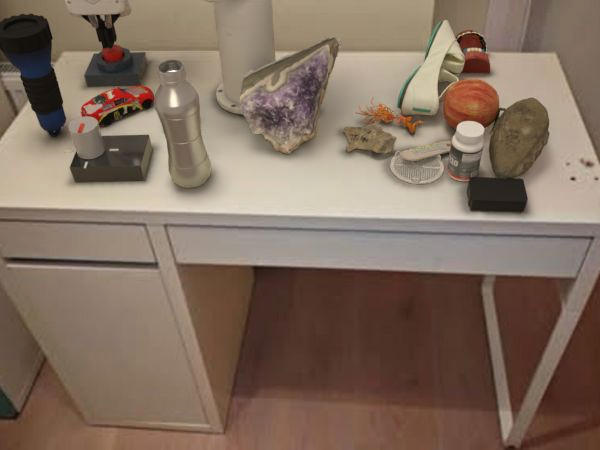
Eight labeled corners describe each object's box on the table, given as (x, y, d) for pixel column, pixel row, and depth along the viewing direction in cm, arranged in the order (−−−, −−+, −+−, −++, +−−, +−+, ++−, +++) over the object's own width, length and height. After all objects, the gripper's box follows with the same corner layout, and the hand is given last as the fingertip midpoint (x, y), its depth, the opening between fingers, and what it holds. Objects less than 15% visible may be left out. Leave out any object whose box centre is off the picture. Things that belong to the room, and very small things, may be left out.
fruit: (452, 98, 100) (517, 105, 100) (448, 62, 106) (509, 70, 107) (439, 141, 106) (500, 148, 106) (436, 105, 113) (493, 112, 113)
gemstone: (235, 127, 113) (249, 169, 102) (227, 38, 104) (242, 74, 93) (335, 114, 116) (359, 153, 106) (336, 27, 107) (363, 59, 96)
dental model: (457, 51, 117) (452, 24, 124) (452, 77, 120) (447, 49, 128) (497, 53, 116) (489, 26, 124) (490, 79, 120) (484, 51, 127)
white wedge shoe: (434, 47, 126) (473, 58, 125) (391, 125, 112) (436, 139, 110) (442, 9, 120) (484, 20, 118) (398, 86, 106) (445, 100, 104)
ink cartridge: (520, 189, 98) (466, 187, 98) (523, 178, 96) (468, 176, 97) (525, 213, 94) (468, 211, 95) (528, 202, 93) (470, 200, 93)
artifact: (354, 110, 110) (400, 125, 103) (358, 124, 112) (405, 139, 105) (326, 138, 107) (372, 155, 101) (331, 152, 109) (377, 169, 103)
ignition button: (125, 52, 124) (123, 44, 122) (121, 62, 121) (119, 53, 120) (106, 52, 124) (104, 44, 123) (102, 62, 121) (99, 54, 120)
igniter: (147, 62, 128) (143, 44, 125) (140, 85, 122) (136, 66, 119) (96, 64, 128) (91, 45, 125) (87, 86, 122) (81, 67, 119)
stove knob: (80, 142, 105) (71, 115, 101) (108, 141, 105) (99, 114, 101) (74, 159, 102) (64, 132, 98) (102, 159, 102) (93, 131, 98)
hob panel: (153, 148, 108) (149, 132, 106) (144, 182, 102) (140, 166, 100) (76, 149, 108) (71, 134, 106) (62, 183, 102) (56, 168, 100)
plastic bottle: (216, 166, 104) (199, 53, 90) (208, 194, 99) (188, 80, 85) (177, 165, 105) (153, 52, 91) (166, 193, 100) (140, 79, 86)
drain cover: (388, 181, 100) (388, 176, 99) (391, 148, 106) (392, 143, 105) (443, 186, 99) (444, 181, 98) (444, 152, 105) (444, 147, 104)
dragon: (417, 141, 108) (418, 126, 105) (352, 127, 112) (351, 113, 108) (424, 121, 110) (425, 106, 107) (360, 108, 113) (359, 94, 110)
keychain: (450, 137, 107) (462, 145, 105) (449, 141, 107) (461, 149, 105) (398, 150, 102) (409, 158, 100) (397, 153, 103) (408, 162, 100)
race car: (147, 92, 120) (143, 72, 118) (161, 105, 117) (157, 85, 114) (79, 118, 115) (73, 98, 112) (92, 132, 112) (86, 112, 109)
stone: (539, 195, 96) (537, 153, 91) (479, 190, 100) (474, 149, 95) (558, 123, 106) (558, 82, 101) (502, 122, 110) (499, 82, 105)
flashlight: (81, 116, 115) (47, 9, 101) (83, 142, 110) (47, 33, 96) (34, 124, 114) (-7, 17, 100) (34, 151, 108) (-10, 41, 94)
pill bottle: (443, 164, 103) (450, 120, 97) (473, 161, 103) (481, 117, 97) (450, 183, 99) (458, 139, 94) (481, 181, 100) (490, 136, 94)
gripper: (32, -46, 105) (63, 56, 118) (124, -48, 105) (146, 54, 118) (45, -64, 111) (74, 35, 123) (133, -66, 110) (152, 34, 123)
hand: (109, 44), depth 121 cm, fingers closed
